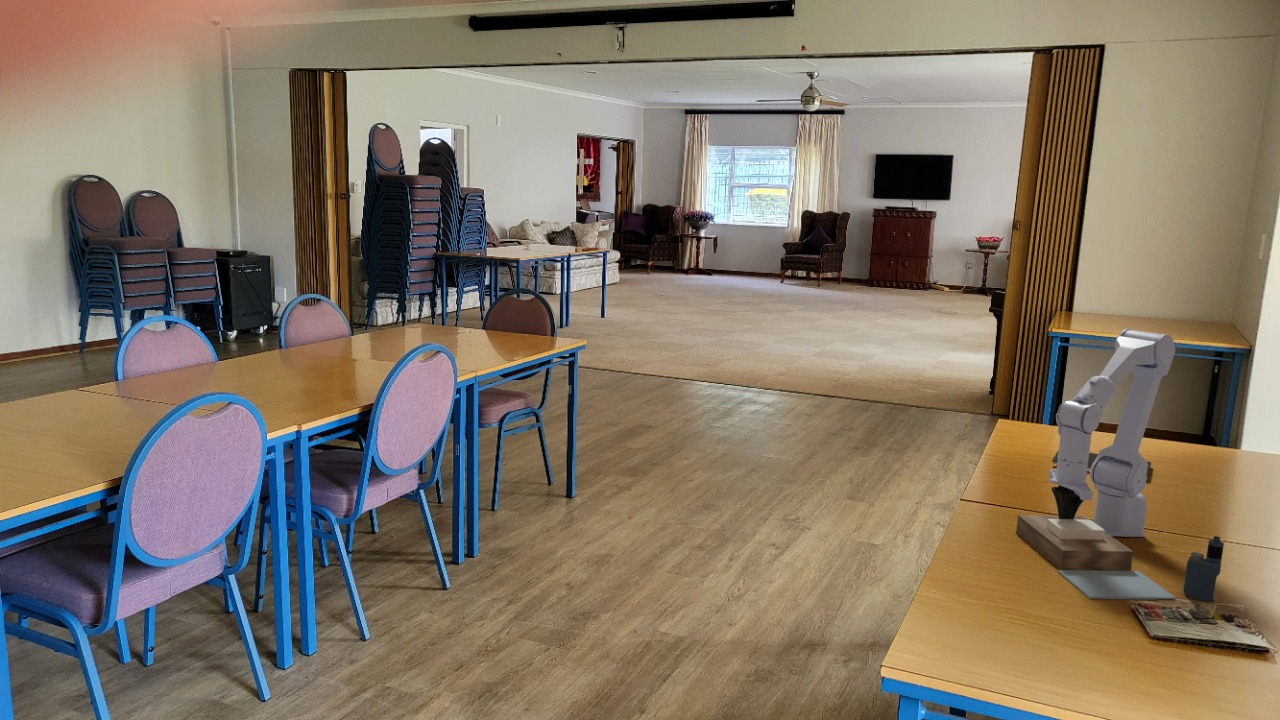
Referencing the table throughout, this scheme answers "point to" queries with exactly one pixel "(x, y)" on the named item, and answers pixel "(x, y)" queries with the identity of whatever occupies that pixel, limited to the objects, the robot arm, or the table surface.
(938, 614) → the table surface
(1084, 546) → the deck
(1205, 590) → the vaping device
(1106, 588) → the mat
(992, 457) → the table surface
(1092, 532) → the white flat block
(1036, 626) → the table surface
